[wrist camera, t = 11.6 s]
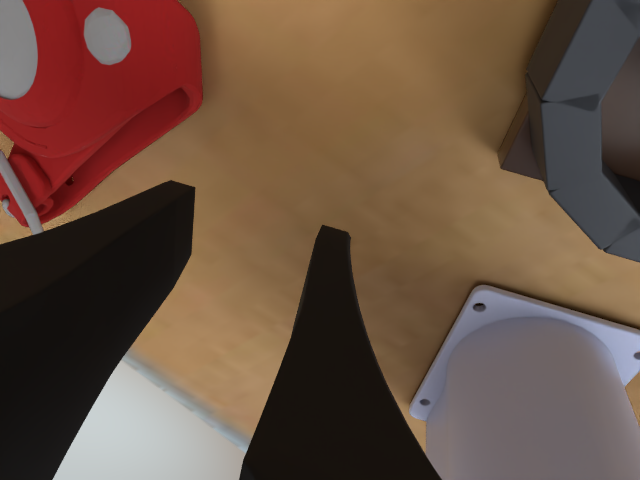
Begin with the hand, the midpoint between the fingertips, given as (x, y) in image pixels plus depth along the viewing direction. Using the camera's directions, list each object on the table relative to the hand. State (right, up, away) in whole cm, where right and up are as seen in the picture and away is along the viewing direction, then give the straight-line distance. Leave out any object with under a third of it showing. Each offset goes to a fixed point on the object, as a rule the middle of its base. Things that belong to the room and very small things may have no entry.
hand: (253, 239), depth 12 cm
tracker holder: (-8, +7, +8) cm, 13 cm away
